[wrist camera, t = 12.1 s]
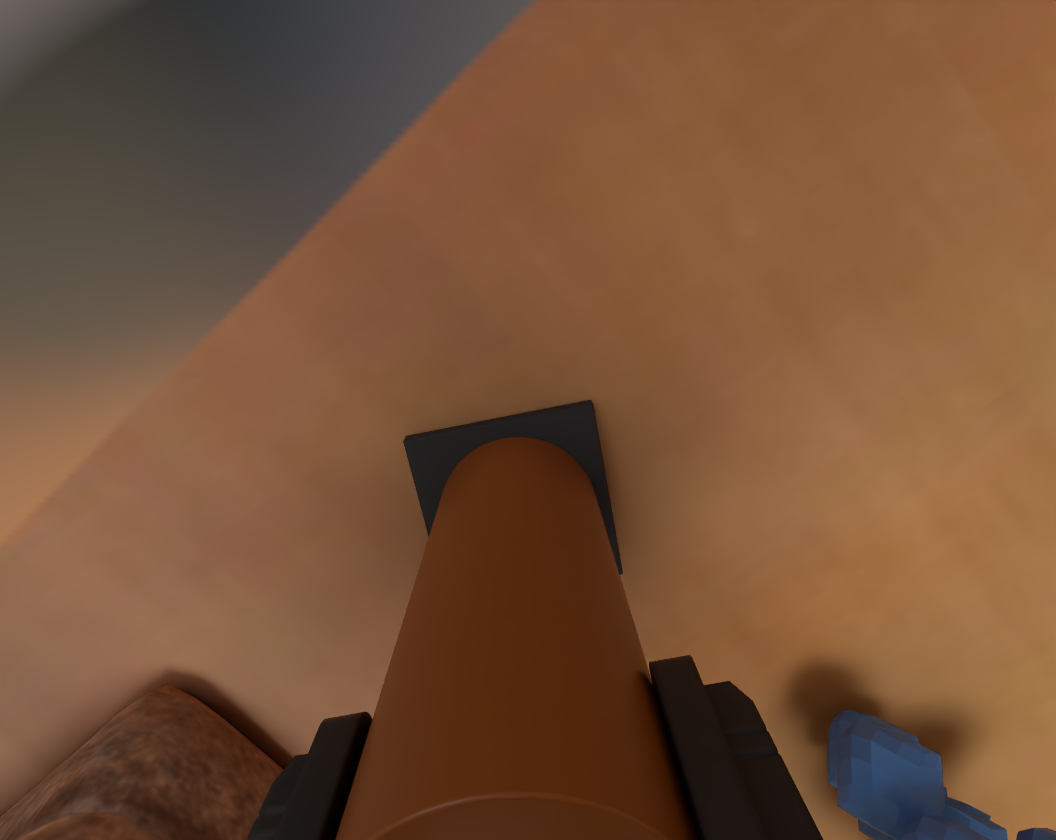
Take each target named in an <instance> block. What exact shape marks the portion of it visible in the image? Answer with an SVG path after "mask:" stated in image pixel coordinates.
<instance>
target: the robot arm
mask: <svg viewBox="0 0 1056 840" xmlns="http://www.w3.org/2000/svg"><path fill="white" fill-rule="evenodd" d="M649 668H650V675H651V680H652V686H653V689H654V693H655V696H656V699H657V703H658V706H659V709H660V713H661V716H662V719H663V723H664V726H665V729H666V733H667V736H668V739H669V743H670V746H671V749H672V753H673V756H674V759H675V763H676V766H677V769H678V773H679V776H680V779H681V783H682V786H683V789H684V793H685V796H686V799H687V803H688V806H689V809H690V813H691V816H692V819H693V823H694V826H695V829H696V833H697V836H698V839H699V840H823V838H822V836H821V834H820V832H819V830H818V828H817V826H816V824H815V822H814V821H813V819H812V817H811V815H810V813H809V811H808V809H807V807H806V805H805V803H804V801H803V799H802V797H801V795H800V793H799V791H798V789H797V787H796V785H795V783H794V781H793V779H792V777H791V775H790V773H789V771H788V769H787V767H786V765H785V763H784V761H783V760H782V758H781V756H780V754H778V751H777V748H776V746H775V744H774V742H773V740H772V738H771V736H770V734H769V732H767V730H766V726H765V724H764V722H763V720H762V718H761V716H760V714H759V712H758V710H757V708H756V706H755V704H754V702H753V701H752V700H751V699H750V698H749V697H748V696H746V695H745V694H744V693H743V692H742V691H740V690H739V689H738V688H737V687H736V686H735V685H733V684H732V683H731V682H730V681H726V682H721V683H715V684H709V685H703V683H702V680H701V678H700V675H699V673H698V671H697V668H696V666H695V663H694V661H693V659H692V657H691V656H690V655H687V656H681V657H676V658H670V659H664V660H659V661H653V662H649ZM371 723H372V717H371V716H370V714H369V713H368V712H361V713H356V714H350V715H345V716H339V717H333V718H328V719H325V720H323V721H322V723H321V724H320V726H319V729H318V731H317V733H316V736H315V738H314V741H313V743H312V746H311V748H310V750H309V753H308V754H305V755H299V756H295V757H294V758H293V759H292V761H291V762H290V763H289V764H288V765H287V766H286V768H285V769H284V770H283V771H282V772H281V773H280V775H279V776H278V777H277V778H276V779H275V781H274V782H273V783H272V785H271V787H270V789H269V791H268V793H267V796H266V798H265V800H264V802H263V804H262V807H261V809H260V811H259V818H258V819H256V820H255V822H254V824H253V826H252V828H251V831H250V833H249V835H248V837H247V839H248V840H336V836H337V833H338V830H339V827H340V823H341V820H342V817H343V814H344V810H345V807H346V804H347V801H348V797H349V794H350V791H351V788H352V785H353V781H354V778H355V775H356V772H357V768H358V765H359V762H360V759H361V755H362V752H363V749H364V746H365V742H366V739H367V736H368V733H369V729H370V726H371Z"/></svg>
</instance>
